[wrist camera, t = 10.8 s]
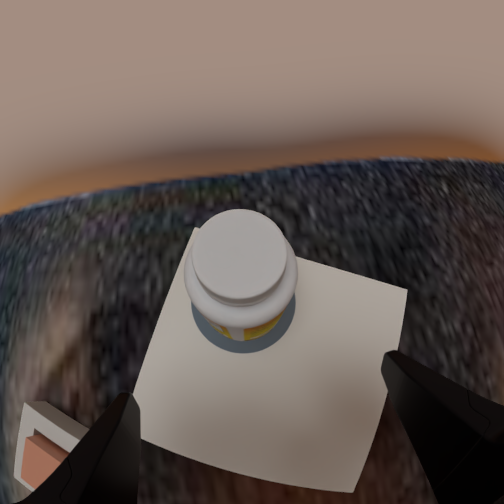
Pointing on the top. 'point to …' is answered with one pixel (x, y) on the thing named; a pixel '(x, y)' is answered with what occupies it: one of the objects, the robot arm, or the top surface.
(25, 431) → the button housing
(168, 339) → the drawing paper
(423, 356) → the top surface
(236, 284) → the supplement bottle
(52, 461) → the button
